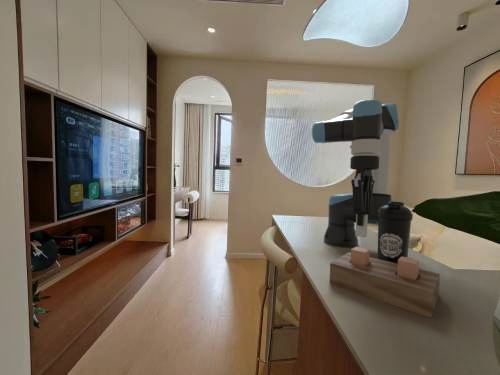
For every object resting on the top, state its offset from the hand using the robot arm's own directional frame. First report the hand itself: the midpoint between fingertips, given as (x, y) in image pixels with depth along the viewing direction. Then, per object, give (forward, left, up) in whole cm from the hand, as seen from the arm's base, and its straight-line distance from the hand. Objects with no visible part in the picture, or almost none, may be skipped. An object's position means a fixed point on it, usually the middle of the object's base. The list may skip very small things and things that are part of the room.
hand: (361, 236), depth 69 cm
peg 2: (0, +12, -10) cm, 16 cm away
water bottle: (-19, +4, -14) cm, 24 cm away
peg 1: (0, 0, -10) cm, 10 cm away
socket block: (0, +6, -14) cm, 15 cm away
